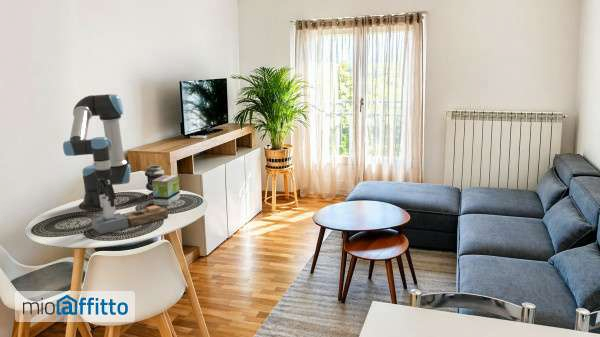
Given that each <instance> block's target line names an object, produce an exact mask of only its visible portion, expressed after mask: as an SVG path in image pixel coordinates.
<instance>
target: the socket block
mask: <svg viewBox="0 0 600 337" xmlns="http://www.w3.org/2000/svg"><path fill="white" fill-rule="evenodd" d="M157 206H158V207H159V211H155V212H151V213H150V212H148V211H147V209H146V208H143V209H138V210H133V211H130V212H125V213H122V215H123V216H125V217H127V219H128V226H129V227H135V226H140V225H143V224H148V223H151V222H155V221H156V222H157V221H160V220H164V219H167V218H169V212H168V211H169V210H168V209H165V208H164V207H161V205H157Z"/></svg>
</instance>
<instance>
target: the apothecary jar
mask: <svg viewBox="0 0 600 337" xmlns="http://www.w3.org/2000/svg"><path fill="white" fill-rule="evenodd" d="M163 175H165V170H164V169H162V166H161V165H159V164H158V165H156V164H155V165H149V166H147V167H146V171H145V172H144V176H145V177H147V178H146V179H147V183H146V184H145V188H146V190H148V191H149V192H150V193H148V196H149V197H153V185H152V181H153V180H155V179H157V178H159V177H161V176H163Z"/></svg>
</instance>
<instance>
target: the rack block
mask: <svg viewBox="0 0 600 337" xmlns="http://www.w3.org/2000/svg"><path fill="white" fill-rule="evenodd" d="M122 214H123V213H122ZM122 214H121V213H120V212H115V213H114V217H115V219H113V220H108V221H105V220H104V215H103V216H99V217H95V218H91V226H92V227H91V228H92V229H93V230H94V231H95V232H96V233H98V234H99V235H103V234H108V233H111V232H115V231H119V230H120V231H121V230H124V229H128V228H129V225H128V219H127V217H125V216H123V215H122Z"/></svg>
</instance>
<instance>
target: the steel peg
mask: <svg viewBox="0 0 600 337" xmlns="http://www.w3.org/2000/svg"><path fill="white" fill-rule="evenodd" d="M101 199H102V207H101V208H102V212H103V213H102V214H103V216H104V220H105V221H108V220H113V219H115V217H114V214H115V212H114V213H110V210H109V202H108V196H107V197H102V198H101Z"/></svg>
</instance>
